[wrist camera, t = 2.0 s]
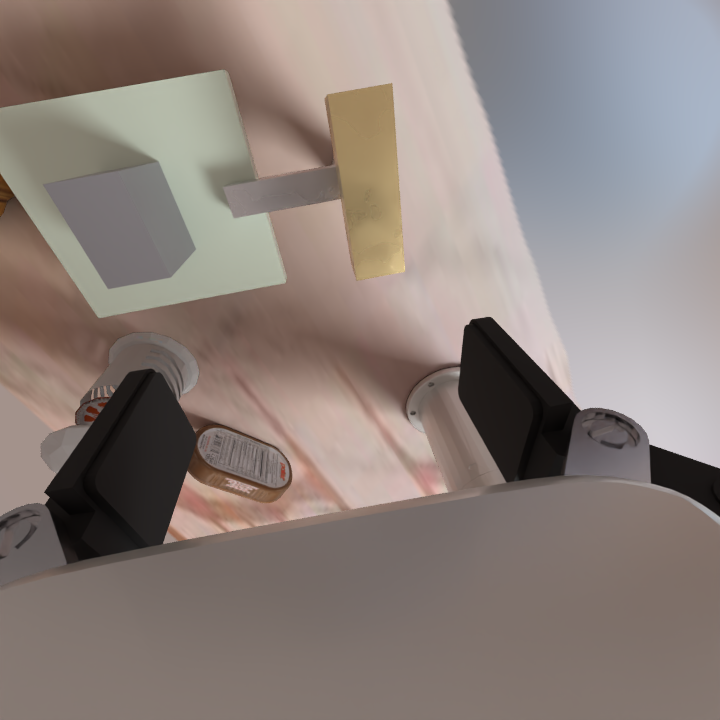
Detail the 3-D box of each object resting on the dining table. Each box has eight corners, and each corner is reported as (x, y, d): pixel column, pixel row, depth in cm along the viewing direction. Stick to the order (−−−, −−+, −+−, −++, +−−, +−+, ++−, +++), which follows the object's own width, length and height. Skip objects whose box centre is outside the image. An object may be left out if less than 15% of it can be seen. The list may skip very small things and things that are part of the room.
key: (353, 102, 28) (392, 83, 15) (367, 215, 33) (404, 271, 21) (228, 124, 28) (162, 123, 15) (262, 235, 33) (234, 303, 20)
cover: (228, 72, 22) (198, 51, 16) (286, 276, 30) (281, 315, 24) (-20, 115, 21) (-151, 111, 15) (107, 310, 30) (55, 358, 23)
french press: (176, 324, 37) (22, 558, 17) (217, 400, 44) (142, 633, 24) (89, 341, 37) (-172, 599, 17) (143, 415, 44) (4, 663, 24)
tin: (191, 426, 46) (171, 478, 39) (202, 412, 45) (183, 463, 38) (285, 463, 53) (281, 512, 46) (296, 451, 52) (294, 501, 45)
